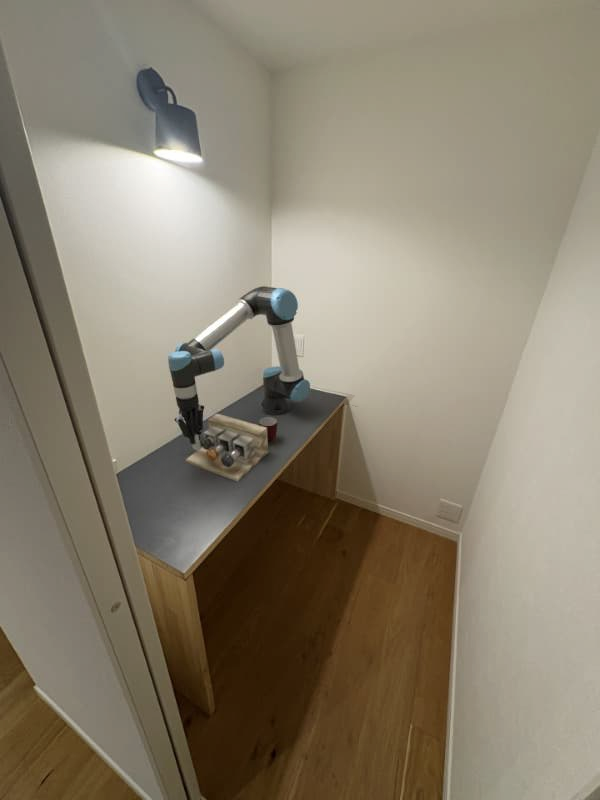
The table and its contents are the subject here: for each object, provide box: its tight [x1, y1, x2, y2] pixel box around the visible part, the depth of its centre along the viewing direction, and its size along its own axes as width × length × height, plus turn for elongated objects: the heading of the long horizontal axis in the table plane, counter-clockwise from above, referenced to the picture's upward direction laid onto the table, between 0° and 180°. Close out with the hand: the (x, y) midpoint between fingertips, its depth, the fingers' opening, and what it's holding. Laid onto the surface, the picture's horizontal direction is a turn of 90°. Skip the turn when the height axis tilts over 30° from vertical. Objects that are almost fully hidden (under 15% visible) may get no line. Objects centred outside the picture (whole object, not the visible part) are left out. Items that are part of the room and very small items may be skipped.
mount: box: [185, 413, 269, 482], centre depth 128 cm, size 21×26×12 cm
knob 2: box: [221, 446, 244, 467], centre depth 121 cm, size 9×5×5 cm, turn 153°
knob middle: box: [206, 441, 229, 462], centre depth 124 cm, size 9×5×5 cm, turn 153°
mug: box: [258, 416, 278, 444], centre depth 139 cm, size 10×8×10 cm
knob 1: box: [199, 436, 214, 450], centre depth 131 cm, size 9×5×5 cm, turn 153°
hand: (196, 448), depth 123 cm, fingers closed
